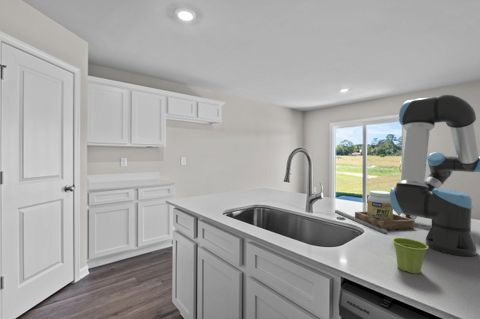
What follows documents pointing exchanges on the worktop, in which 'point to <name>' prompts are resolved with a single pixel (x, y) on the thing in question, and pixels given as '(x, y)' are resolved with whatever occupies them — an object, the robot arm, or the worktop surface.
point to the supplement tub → (379, 206)
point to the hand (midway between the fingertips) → (404, 216)
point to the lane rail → (362, 222)
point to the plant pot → (409, 254)
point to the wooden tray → (396, 222)
